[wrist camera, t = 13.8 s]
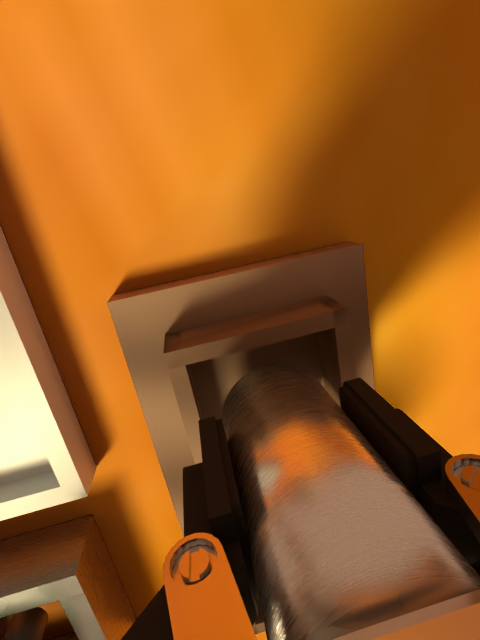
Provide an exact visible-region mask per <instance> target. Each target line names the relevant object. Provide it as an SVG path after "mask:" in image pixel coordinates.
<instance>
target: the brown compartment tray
mask: <svg viewBox="0 0 480 640" xmlns="http://www.w3.org/2000/svg"><path fill="white" fill-rule="evenodd" d="M107 304H108V307H109V310H110V313H111V316H112V319H113V322H114V325H115V328H116V332H117V335H118V338H119V341H120V344H121V347H122V350H123V353H124V356H125V359H126V362H127V365H128V368H129V371H130V374H131V377H132V380H133V383H134V386H135V389H136V393H137V396H138V399H139V402H140V405H141V408H142V411H143V414H144V417H145V420H146V423H147V426H148V429H149V432H150V435H151V438H152V441H153V444H154V447H155V450H156V454H157V457H158V460H159V463H160V466H161V469H162V472H163V475H164V478H165V481H166V484H167V487H168V490H169V493H170V496H171V499H172V502H173V505H174V508H175V511H176V515H177V518H178V521H179V524H180V527H181V530H182V533H183V536H184V517H183V467H187V466H191V465H194V464H198V463H201V462H202V452H201V442H200V432H199V423H198V421H199V420H201V419H205V418H209V417H213V416H215V420H219V419H222V409H223V405H224V402H225V399H226V397H227V395H228V393H229V392H230V390H231V389H232V387H233V386H234V385H235V384H236V383H237V382H238V381H239V380H240V379H241V378H242V377H243V376H245V375H246V374H248V373H249V372H251V371H252V370H255V369H257V368H259V367H262V366H265V365H270V364H279V363H283V364H291V365H296V366H299V367H301V368H303V369H305V370H307V371H308V372H310V373H311V374H312V375H314V376H315V377H316V378H317V380H318V381H319V382H320V383H321V385H322V386H323V387H324V388H325V389H326V391H327V392H328V393H329V394H330V395H331V397H332V398H333V399H334V400H335V401H336V403H337V404H338V405H339V406H340V397H339V387H342V386H343V382H344V381H348V380H352V379H356V378H361V379H363V380H364V381H365V382H366V383H367V384H368V385H369V386H370V387H371V388H373V389H374V390H375V387H374V375H373V363H372V351H371V339H370V327H369V315H368V303H367V291H366V279H365V267H364V255H363V244H358V243H353V242H345V243H341V244H336V245H332V246H328V247H323V248H319V249H314V250H310V251H305V252H301V253H297V254H292V255H288V256H283V257H279V258H275V259H270V260H266V261H261V262H257V263H252V264H248V265H244V266H239V267H235V268H230V269H226V270H222V271H217V272H213V273H208V274H204V275H199V276H195V277H191V278H186V279H182V280H177V281H173V282H169V283H164V284H160V285H155V286H151V287H146V288H142V289H138V290H133V291H129V292H124V293H120V294H116V295H112V297H111V298H110V299H109V301H108V302H107ZM340 408H341V406H340ZM256 605H257V610H258V615H257V619H256V621H255V623H254V624H253V626H252V628H253V630H254V633H255V634H258V633H261V632H264V631H266V630H265V625H264V620H263V616H262V611H261V606H260V601H259V599H256Z"/></svg>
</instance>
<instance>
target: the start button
mask: <svg viewBox="0 0 480 640" xmlns="http://www.w3.org/2000/svg"><path fill="white" fill-rule="evenodd" d="M47 621H48V614H47V612H46V611H45V610H44V609H42V608H40V607H35V608H32V609H29V610H25V611H22V612H19V613H16V614H13V615H12V617H11V620H10V622H9V625H8V627H7V630H6V632H5V635H4V637H3V640H42V637H43V634H44V630H45V627H46V624H47Z"/></svg>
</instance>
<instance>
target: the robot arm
mask: <svg viewBox="0 0 480 640" xmlns="http://www.w3.org/2000/svg"><path fill="white" fill-rule="evenodd" d="M339 397H340V406H341V409H342V410H343V411H344V412H345V414H346V415H347V416H348V417H349V418H350V420H351V421H352V422H353V423H354V424H355V426H356V427H357V428H358V429H359V431H360V432H361V433H362V434H363V435H364V437H365V438H366V439H367V440H368V441H369V443H370V444H371V445H372V446H373V448H374V449H375V450H376V451H377V452H378V454H379V455H380V456H381V457H382V458H383V460H384V461H385V462H386V463H387V464H388V466H389V467H390V468H391V469H392V471H393V472H394V473H395V474H396V475H397V477H398V478H399V479H400V480H401V481H402V483H403V484H404V485H405V486H406V487H407V489H408V490H409V491H410V492H411V494H412V495H413V496H414V497H415V498H416V500H417V501H418V502H419V503H420V504H421V506H422V507H423V508H424V509H425V511H426V512H427V513H428V514H429V515H430V517H431V518H432V519H433V520H434V521H435V523H436V524H437V525H438V526H439V527H440V529H441V530H442V531H443V532H444V534H445V535H446V536H447V537H448V538H449V540H450V541H451V542H452V543H453V544H454V546H455V547H456V548H457V549H458V550H459V552H460V553H461V554H462V555H463V557H464V558H465V559H466V560H467V561H468V563H469V564H470V565H471V566H472V567H473V569H474V570H475V571H476V572H477V574H478V575H479V576H480V455H475V454H461V455H457V456H454V457H453V456H452V455H450V454H449V453H448V452H447V451H446V450H445V449H444V448H443V447H442V446H440V445H439V444H438V443H437V442H436V441H435V440H434V439H433V438H431V437H430V436H429V435H428V434H427V433H426V432H425V431H424V430H423V429H421V428H420V427H419V426H418V425H417V424H416V423H415V422H414V421H413V420H411V419H410V418H409V417H408V416H407V415H406V414H405V413H404V412H403V411H401V410H400V409H394V408H393V407H392V406H391V405H390V404H389V403H388V402H387V401H386V400H385V399H383V398H382V397H381V396H380V395H379V394H378V393H377V392H376V391H375V390H374V389H373V388H371V387H370V386H369V385H368V384H367V383H366V382H365V381H364V380H363V379H361V378H356V379H352V380H348V381H344V382H343V386H342V387H339ZM198 423H199V432H200V442H201V452H202V462H201V463H198V464H194V465H191V466H187V467H183V517H184V538H183V539H181V540H179V541H178V542H177V543H176V544H175V545H174V546H173V547H172V548H171V549H170V551H169V553H168V554H167V556H166V558H165V561H164V564H163V579H164V586H163V587H162V588H161V589H160V591H159V592H158V593H157V594H156V596H155V597H154V598H153V599H152V601H151V602H150V603H149V605H148V606H147V607H146V608H145V610H144V611H143V612H142V613H141V615H140V616H139V617H138V618H137V620H136V621H135V622H134V623H133V625H132V626H131V627H130V628H129V630H128V631H127V632H126V633H125V635H124V636H123V637H122V639H121V640H257V638H256V636H255V633H254V630H253V628H252V626H253V624H254V623H255V621H256V619H257V615H258V610H257V605H256V599H259V597H258V592H257V587H256V582H255V578H254V573H253V568H252V563H251V558H250V543H249V538H248V534H247V529H246V525H245V520H244V515H243V511H242V506H241V502H240V497H239V492H238V488H237V483H236V479H235V474H234V469H233V465H232V460H231V456H230V451H229V446H228V442H227V438H226V434H225V430H224V426H223V422H222V419H219V420H215V416H213V417H209V418H205V419H201V420H199V421H198ZM332 640H480V589H479V590H476V591H473V592H470V593H467V594H464V595H461V596H458V597H455V598H452V599H449V600H446V601H443V602H440V603H437V604H434V605H431V606H428V607H425V608H422V609H419V610H416V611H413V612H410V613H408V614H405V615H402V616H399V617H396V618H393V619H390V620H387V621H384V622H381V623H378V624H375V625H372V626H369V627H366V628H363V629H360V630H358V631H355V632H352V633H349V634H346V635H343V636H340V637H337V638H334V639H332Z"/></svg>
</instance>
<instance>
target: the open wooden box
mask: <svg viewBox="0 0 480 640" xmlns="http://www.w3.org/2000/svg"><path fill="white" fill-rule="evenodd" d="M58 600H59V602H60V604H61V606H62V608H63V610H64V612H65V613H66V615H67V617H68V619H69V621H70V623H71V625H72V627H73V629H74V631H75V632H74V633H70V634H67V635H64V636H61V637H58V638H55V639H51V640H121V639H122V637H123V636H124V635H125V633H126V632H127V631H128V630H129V628H130V627H131V626H132V625H133V623H134V622H135V621H136V620H137V619H136V616H135V614H134V612H133V609H132V607H131V605H130V602H129V600H128V597H127V595H126V593H125V590H124V588H123V586H122V583H121V581H120V579H119V576H118V574H117V572H116V569H115V567H114V565H113V562H112V560H111V558H110V555H109V553H108V551H107V548H106V546H105V544H104V541H103V539H102V537H101V534H100V532H99V530H98V527H97V525H96V523H95V520H94V518H93V515H89V516H86V517H82V518H79V519H75V520H72V521H68V522H65V523H61V524H58V525H54V526H51V527H47V528H44V529H40V530H37V531H33V532H30V533H26V534H23V535H19V536H16V537H12V538H9V539H5V540H2V541H0V618H2V617H6V616H9V615H12V614H16V613H19V612H22V611H25V610H29V609H32V608H35V607H38V606H42V605H45V604H48V603H51V602H55V601H58Z"/></svg>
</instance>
